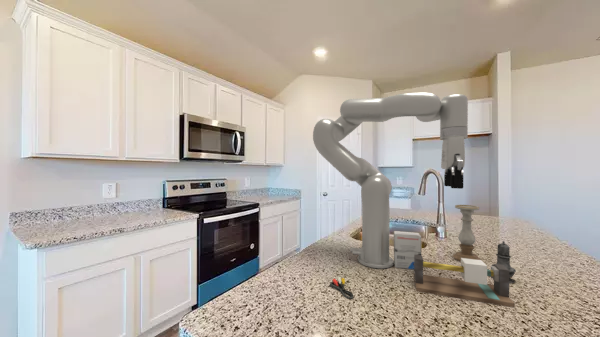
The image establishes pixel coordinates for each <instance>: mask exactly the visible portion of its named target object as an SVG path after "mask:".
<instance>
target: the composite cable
mask: <svg viewBox="0 0 600 337" xmlns="http://www.w3.org/2000/svg"><path fill="white" fill-rule="evenodd" d="M331 279H332V281H330V283H329V286H330V287H331V288H332V289H335V291H336V290H337V291H338V292H340V293H341V294H342V296H343V297H344V298H346V299H349V300H353V299H354V297H355V296H354V294H353V292H351V291H350V290H347V289H345V284H346V279H345V278H344V277H342V278H341V276H339V275H337V277H336V278H334V277H331Z"/></svg>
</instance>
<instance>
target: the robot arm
mask: <svg viewBox="0 0 600 337" xmlns="http://www.w3.org/2000/svg"><path fill="white" fill-rule="evenodd" d="M468 105H469V99H468V96H466V94H462V93H458V94H457V93H456V94H448V95H445V96H444V97H442V98H440V97H439V96H438V94H435V93H432V92H409V93H408V92H407V93H405V92H404V93H400V94H395V95H389V96H386V97H374V98H373V97H369V98H368V97H367V98H349V99H346V100H344V101H343V102H342V104H340V108H339V113H340V116H339V117H338V118H337V119H336V120H333V119H330V118H323V119H320V120H318V121H317V122H316V124H315V125H314V127H313V131H312V140H313V144H314V147H315V148H316V150H317V152H318V153H319V154H320V155H321V156H322V157H323V158H324V159H325V160H326V161H327V162H328V163H329V164H330V165H332V167H333V168H334V169H335V170H337V171H338V173H340V175H341V176H343V177H344V178H345V179H346V180H348V181H350V182H356V184H358V186H360V187H361V190H360V194H361V196H360V197H361V211H362V214H361V215H362V216H361V218H362V219H361V220H362V221H361V222H362V223H361V224H362V226H361V228H362V230H361V231H362V232H361V233H362V236H361V238H362V240H361V242H362V244H361V247H358V248H357V247H350V248H349V250H350V253H351V254H352V255H356V256H357V261H358V263H360V265H363V266H366V267H368V268H371V269H389V268H392V267H393V266H394V258H393V257H390V234H391V233H390V230H391V229H390V224H391V222H390V195H391V192H392V187H393V186H392V183H391V181H390V179H389V178H388V177H387V176H386V175H384V174H383V173H382V172H381V171H380V170H378V169H377V168H376V167H375V166H374V165H373V164H371V163H370V162H368V161H367V160H366V159H364V158H362V157H359V156H356V155H355V154H354V153H353V152H351V151H350V150H348V148H346V147H345V146H344V145H342V144H341V141H342V140H344V139H345V138H346V137H348V135H350V134H351V133H352V132H353V131H355V129H357V128H358V127H359V126H361V124H362V123H364V122H368V123H370V122H371V123H381V122H382V123H384V122H386V121H387V122H388V121H389V120H391V119H396V118H402V117H403V118H404V117H415V118H416V120H418V121H420V122H422V123H431V122H435V121H439V122H440V123H439V127H440V128H439V130H440V131H439V140H441V141H442V146H441V159H440V160H441V162H440V164H441V165H440V168H441V169H442V170H444V174H443V175H444V178H443V184H444V187H450V188H451V189H458V190H459V189H462V190H463V189H464V168H465V165H466V164H465V163H466V162H465V161H466V156H465V155H466V151H465V150H466V149H465V148H466V146H465V140H466V139H468V136H469V135H468V128H469V127H468V126H469V125H468V121H469V120H468V115H469V113H468V111H469V110H468V108H469V107H468Z"/></svg>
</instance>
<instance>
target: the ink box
mask: <svg viewBox="0 0 600 337" xmlns="http://www.w3.org/2000/svg"><path fill="white" fill-rule="evenodd" d="M414 254H416V255H422V236H421V234H420V233H419V232H412V231H411V232H410V231H402V230H401V231H399V230H394V231H393V260H394V265H393V266H394V268H397V269H398V268H399V269H407V270H408V269H409V270H414Z"/></svg>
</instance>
